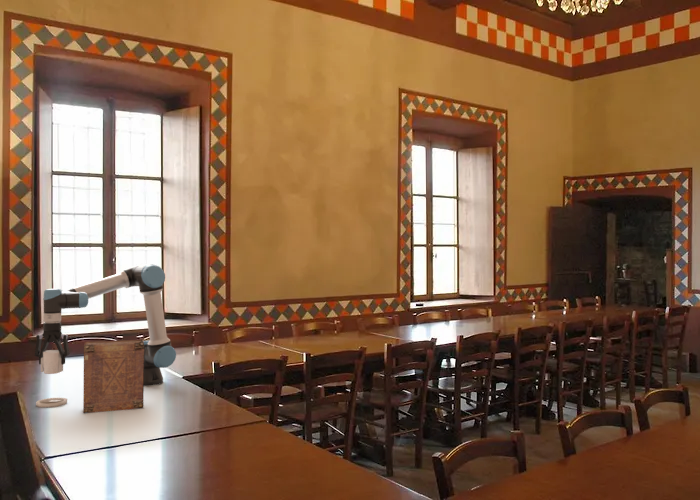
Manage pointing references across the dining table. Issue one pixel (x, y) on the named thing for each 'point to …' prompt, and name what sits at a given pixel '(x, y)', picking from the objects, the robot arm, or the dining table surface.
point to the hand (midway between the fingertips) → (52, 371)
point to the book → (113, 375)
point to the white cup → (51, 361)
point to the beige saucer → (51, 402)
